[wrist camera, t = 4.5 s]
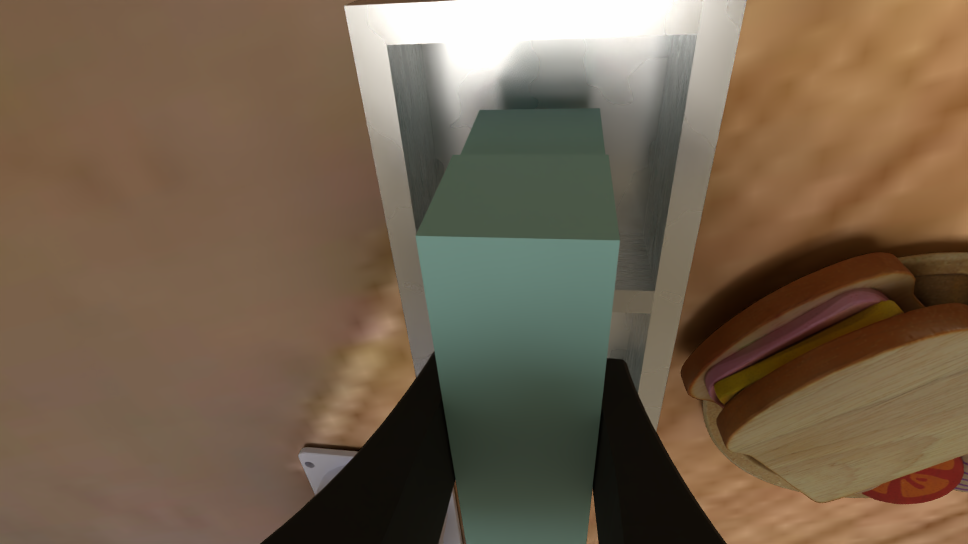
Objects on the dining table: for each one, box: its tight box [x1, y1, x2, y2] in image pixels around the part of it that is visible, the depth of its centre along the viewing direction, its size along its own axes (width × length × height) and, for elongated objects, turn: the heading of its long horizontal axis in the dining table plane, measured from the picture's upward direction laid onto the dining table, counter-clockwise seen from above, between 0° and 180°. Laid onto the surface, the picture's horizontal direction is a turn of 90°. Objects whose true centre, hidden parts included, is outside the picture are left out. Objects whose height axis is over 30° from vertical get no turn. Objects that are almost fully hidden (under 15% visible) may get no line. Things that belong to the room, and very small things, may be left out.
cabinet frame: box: [344, 0, 747, 430], centre depth 16 cm, size 15×8×4 cm, turn 4°
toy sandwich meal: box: [681, 252, 968, 504], centre depth 17 cm, size 12×14×5 cm
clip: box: [416, 108, 620, 544], centre depth 13 cm, size 10×3×6 cm, turn 4°
